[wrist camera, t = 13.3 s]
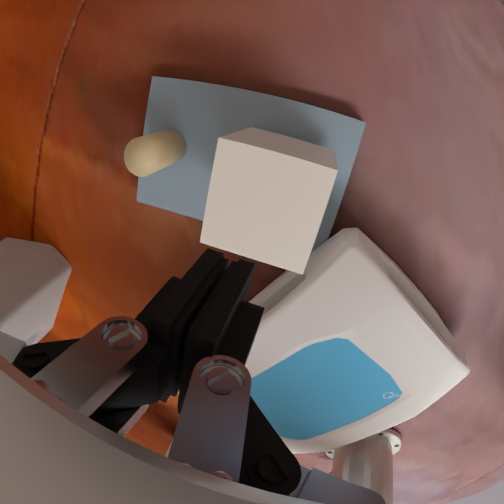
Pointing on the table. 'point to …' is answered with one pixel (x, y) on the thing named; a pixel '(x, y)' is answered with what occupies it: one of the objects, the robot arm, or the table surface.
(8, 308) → the grey triangular planter
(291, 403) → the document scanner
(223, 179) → the matte white cube
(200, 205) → the slate board
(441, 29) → the table surface
